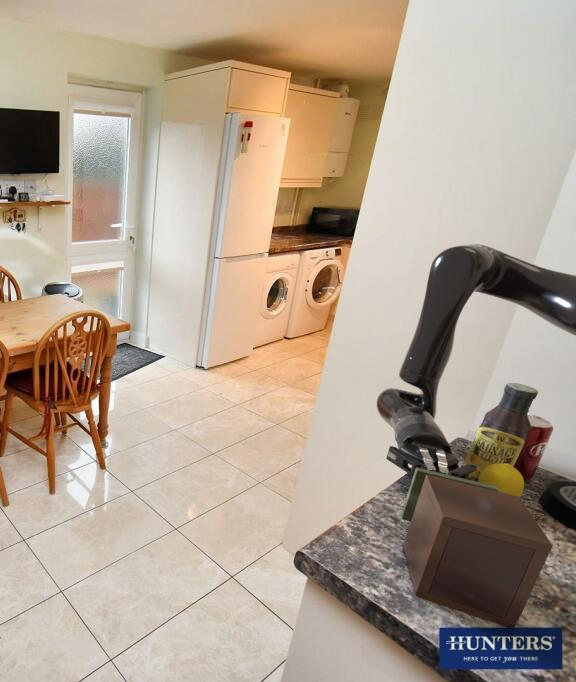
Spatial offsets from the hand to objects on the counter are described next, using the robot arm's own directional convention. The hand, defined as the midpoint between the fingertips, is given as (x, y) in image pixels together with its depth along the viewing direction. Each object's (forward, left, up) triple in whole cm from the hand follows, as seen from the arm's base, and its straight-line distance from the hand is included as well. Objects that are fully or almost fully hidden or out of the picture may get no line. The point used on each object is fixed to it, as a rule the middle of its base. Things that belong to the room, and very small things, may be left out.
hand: (442, 489), depth 71 cm
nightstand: (+12, +7, -7) cm, 15 cm away
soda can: (-30, 0, -7) cm, 31 cm away
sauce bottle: (-22, -1, -7) cm, 23 cm away
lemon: (-16, +3, -7) cm, 18 cm away
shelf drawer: (+6, +4, -5) cm, 9 cm away
